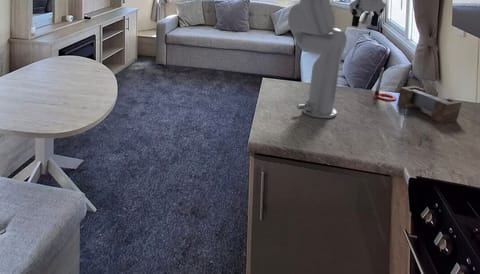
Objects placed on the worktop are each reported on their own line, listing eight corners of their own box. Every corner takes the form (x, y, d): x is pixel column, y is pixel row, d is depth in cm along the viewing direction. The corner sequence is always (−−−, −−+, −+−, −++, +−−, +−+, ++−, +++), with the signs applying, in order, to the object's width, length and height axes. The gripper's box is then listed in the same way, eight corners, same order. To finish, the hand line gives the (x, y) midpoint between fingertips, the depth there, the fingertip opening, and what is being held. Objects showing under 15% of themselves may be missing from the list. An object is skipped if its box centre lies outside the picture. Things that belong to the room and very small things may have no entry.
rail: (446, 114, 148) (450, 102, 146) (441, 115, 147) (444, 102, 145) (412, 101, 162) (415, 89, 160) (407, 101, 161) (410, 90, 159)
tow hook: (396, 98, 173) (375, 93, 176) (404, 69, 167) (382, 65, 171) (394, 103, 166) (372, 98, 169) (402, 74, 160) (379, 69, 164)
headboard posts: (456, 121, 148) (462, 102, 145) (441, 123, 145) (447, 104, 142) (410, 102, 166) (415, 85, 163) (397, 104, 163) (400, 87, 160)
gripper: (361, -21, 141) (353, 28, 148) (396, -19, 148) (387, 27, 155) (347, -22, 147) (340, 25, 154) (382, -21, 154) (374, 24, 161)
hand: (364, 26), depth 155 cm, fingers open, 9 cm apart
